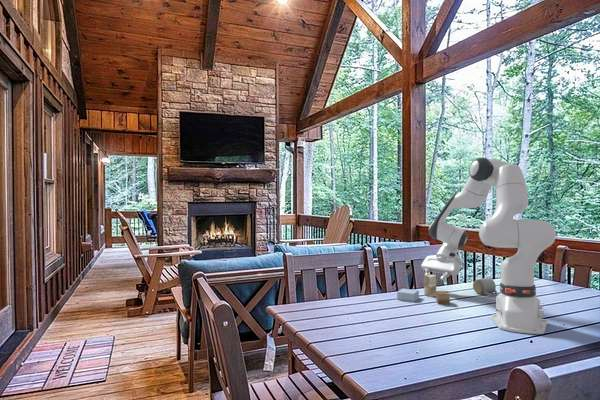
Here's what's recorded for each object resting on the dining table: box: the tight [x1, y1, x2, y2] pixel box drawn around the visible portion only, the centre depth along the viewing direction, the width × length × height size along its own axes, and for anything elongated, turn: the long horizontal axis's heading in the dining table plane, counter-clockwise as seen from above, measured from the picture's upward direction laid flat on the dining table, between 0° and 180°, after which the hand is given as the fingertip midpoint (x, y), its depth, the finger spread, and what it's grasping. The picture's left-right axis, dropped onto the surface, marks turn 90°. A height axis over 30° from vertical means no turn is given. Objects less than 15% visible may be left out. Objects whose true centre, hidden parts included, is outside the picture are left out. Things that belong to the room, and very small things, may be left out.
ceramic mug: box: [472, 277, 498, 297], centre depth 186 cm, size 11×8×8 cm
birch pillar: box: [423, 273, 437, 298], centre depth 186 cm, size 4×4×10 cm
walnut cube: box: [435, 290, 451, 306], centre depth 172 cm, size 5×5×5 cm
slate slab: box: [396, 288, 420, 303], centre depth 181 cm, size 8×8×4 cm
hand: (433, 278), depth 187 cm, fingers open, 8 cm apart
